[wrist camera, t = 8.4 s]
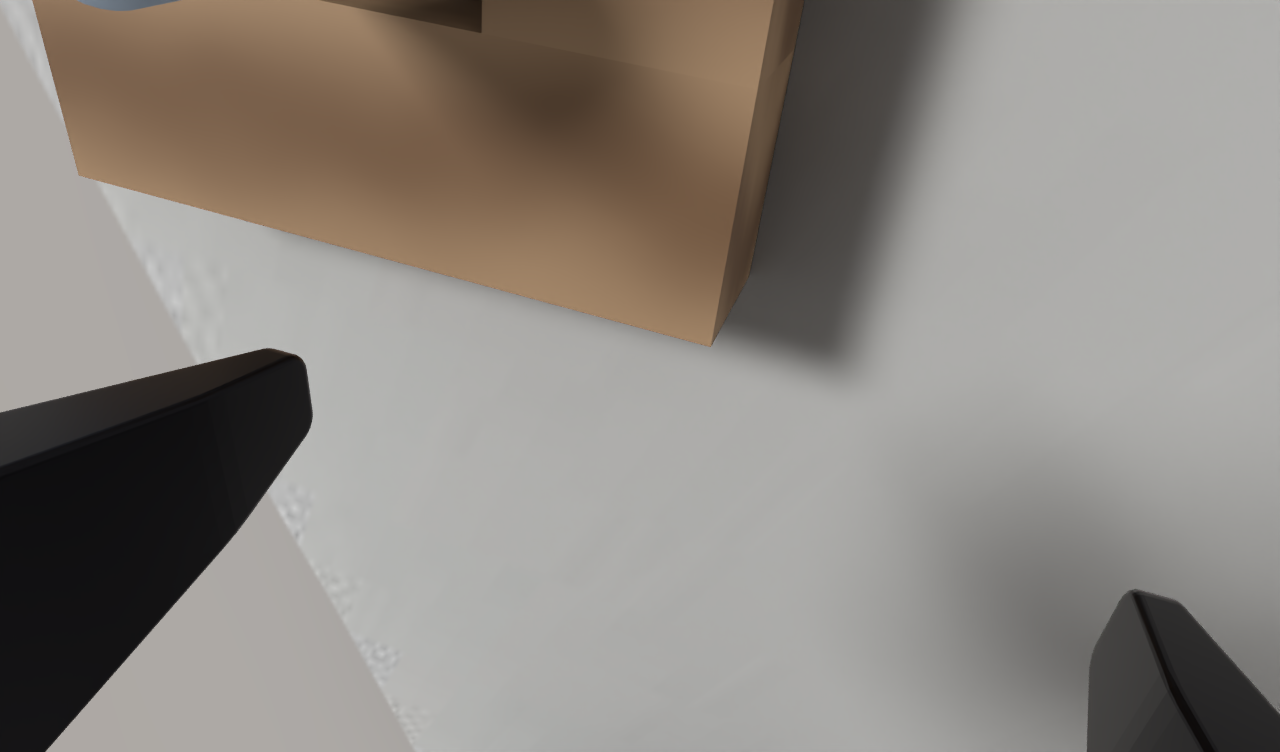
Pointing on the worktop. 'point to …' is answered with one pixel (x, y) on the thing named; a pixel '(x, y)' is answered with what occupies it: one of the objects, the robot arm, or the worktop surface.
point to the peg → (124, 4)
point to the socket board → (455, 133)
